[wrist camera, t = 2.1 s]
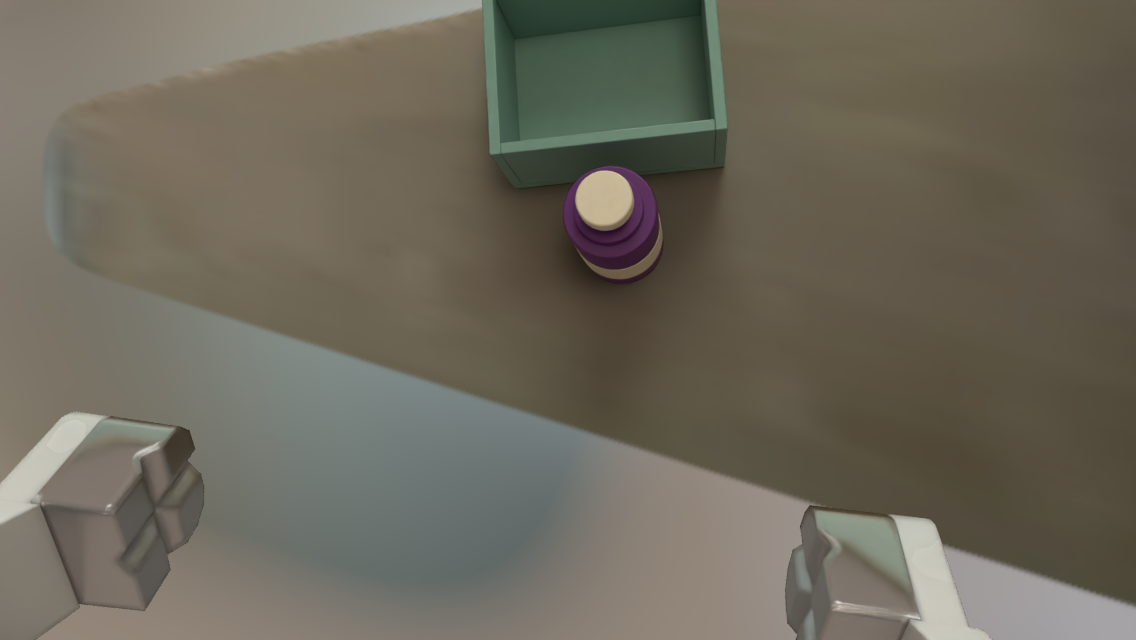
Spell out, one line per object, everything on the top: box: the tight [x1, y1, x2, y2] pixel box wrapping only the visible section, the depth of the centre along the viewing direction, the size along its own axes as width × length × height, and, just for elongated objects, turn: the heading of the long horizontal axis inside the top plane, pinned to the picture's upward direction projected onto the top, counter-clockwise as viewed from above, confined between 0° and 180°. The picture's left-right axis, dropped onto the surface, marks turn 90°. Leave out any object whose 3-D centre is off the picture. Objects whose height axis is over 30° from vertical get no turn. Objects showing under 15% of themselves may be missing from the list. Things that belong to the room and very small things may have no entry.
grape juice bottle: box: [563, 166, 663, 284], centre depth 37 cm, size 4×4×8 cm
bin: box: [482, 0, 728, 188], centre depth 39 cm, size 10×8×5 cm
